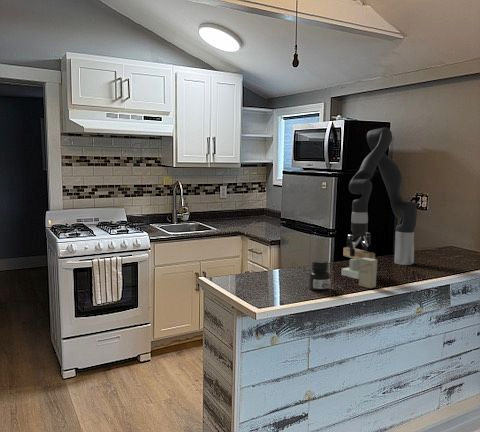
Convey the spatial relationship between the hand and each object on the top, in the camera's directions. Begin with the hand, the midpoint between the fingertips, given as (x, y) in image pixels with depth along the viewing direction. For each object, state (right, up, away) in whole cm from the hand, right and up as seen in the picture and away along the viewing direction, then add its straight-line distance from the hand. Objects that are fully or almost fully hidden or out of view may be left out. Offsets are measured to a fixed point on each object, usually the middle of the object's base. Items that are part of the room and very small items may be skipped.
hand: (358, 255), depth 218 cm
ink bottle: (-23, -13, -23) cm, 34 cm away
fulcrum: (0, -10, +1) cm, 10 cm away
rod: (0, -2, 0) cm, 2 cm away
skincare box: (-1, -12, -19) cm, 22 cm away
